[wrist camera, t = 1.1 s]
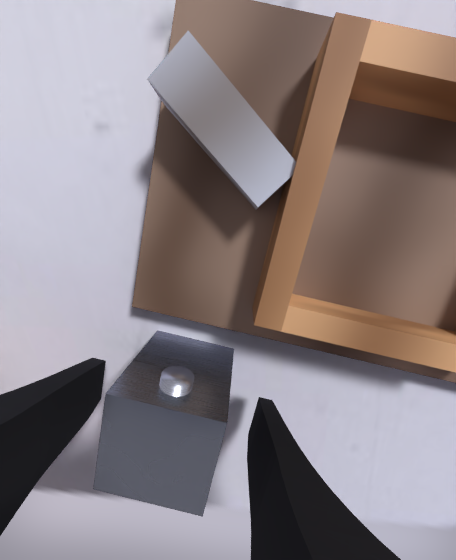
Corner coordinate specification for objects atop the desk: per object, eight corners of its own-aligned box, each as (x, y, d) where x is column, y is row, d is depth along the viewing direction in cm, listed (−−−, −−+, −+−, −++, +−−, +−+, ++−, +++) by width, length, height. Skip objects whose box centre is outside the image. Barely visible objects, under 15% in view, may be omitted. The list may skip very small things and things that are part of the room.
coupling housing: (698, 123, 10) (915, 74, 7) (542, 393, 12) (643, 450, 9) (186, 12, 10) (159, -84, 7) (142, 298, 13) (109, 323, 10)
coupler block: (235, 341, 13) (229, 412, 8) (216, 419, 14) (200, 524, 9) (159, 323, 13) (107, 383, 8) (145, 402, 14) (92, 497, 9)
